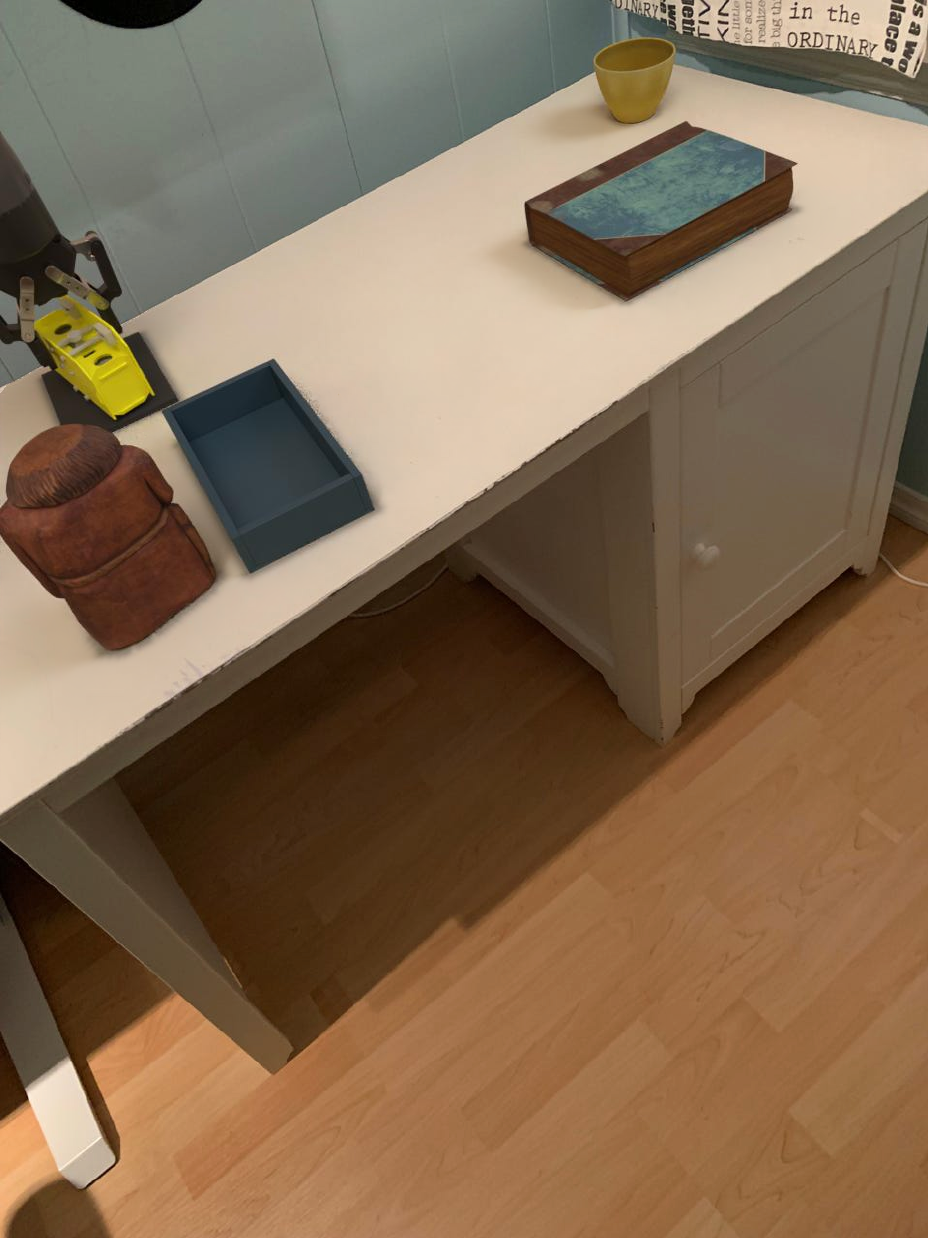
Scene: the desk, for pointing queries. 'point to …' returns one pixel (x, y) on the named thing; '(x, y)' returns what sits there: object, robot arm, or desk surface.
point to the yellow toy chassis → (93, 358)
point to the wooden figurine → (103, 532)
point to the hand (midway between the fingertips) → (85, 351)
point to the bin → (267, 464)
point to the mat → (81, 411)
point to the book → (659, 207)
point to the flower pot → (634, 76)
